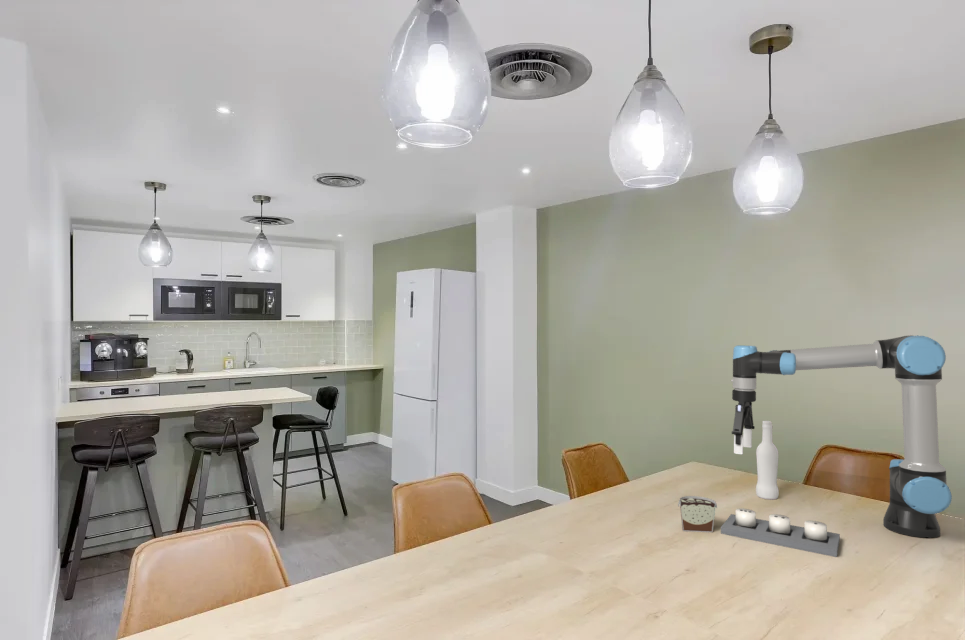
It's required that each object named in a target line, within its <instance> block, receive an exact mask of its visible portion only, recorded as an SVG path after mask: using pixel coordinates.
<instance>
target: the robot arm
mask: <svg viewBox="0 0 965 640" xmlns="http://www.w3.org/2000/svg"><path fill="white" fill-rule="evenodd" d="M732 354H733V355H732V378H731V380H730V381H731V383H732V388H733V389H732V392H731V393H732V394H731V396H732V397H731V398H732V401H734V402H737V403H738V404H735V406H734V408H735V410H734V419H733V427H732V431H731V435H733V454H736V455H743V454H744V448H750V449H752V447H753V430H755V426H754V417H753V407H752V406H753V403H754V402H756V400H757V392H756V390H757V374H766V375H770V374H771V375H783V376H787V375H789V376H792V375H795V374H796V371H807V370H808V371H809V370H826V369H827V370H828V369H842V368H843V369H845V368H862V367H877V368H878V369H880V370H881V369H893V370H894V375H895V377H894V378H895V380H896V381H898V382H899V383H900V385H901V402H902V403H901V405H902V407H901V408H902V426H903V427H902V428H903V451H904V453H903V454H904V456H903V457H904V459H903V458H902V459H901V458H900V459H899V458H898V459H897V458H894V459H891V460H890V462H889V463H890V464H889V468H888V469H889V503H888V504H889V505H888V506H887V509H886V511H885V514H884V516H883V520H882V521H883V524H882V525H883V527H884V528H886V529H888V530H889V531H892V532H895V533H898V534H901V535H904V536H909V537H914V536H915V537H914V538H922V537H929V538H928V539H930V538H931V537H935V538H939V537H940V536H941V526H940V524H939V521H938V518H937V516H936V514H940V513H942V512H944V511H945V510H947V509H948V508H949V506H950V505H951V503H952V499H953V498H952V497H953V496H952V493H951V489H950V486H948V483H947V468H946V467H945V466H943V465H942V464H941V462H940V453H939V452H940V451H939V450H940V449H939V446H940V445H939V427H938V403H937V402H938V401H937V400H938V399H937V385H938V383H940V382H941V381H943V372H942V371H943V370H942V368H943V367H944V365H945V363H946V359H947V358H946V357H947V356H946V351H945V349H944V348H943V346H942V345H941V344H940V343H939V342H938V341H936V340H935V339H933V338H931V337H929V336H924V335H904V336H899V337H894V338H888V339H887V338H886V339H879V340H875V341H874V342H873V343H866V344H865V343H864V344H852V345H851V344H850V345H849V344H848V345H838V346H837V345H835V346H825V347H810V348H796V349H782V350H777V349H776V350H774V349H773V350H769V351H758V347H757V346H756V345H746V344H745V345H735V346H734V347H733V352H732ZM938 536H939V537H938ZM931 539H932V538H931Z"/></svg>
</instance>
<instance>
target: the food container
mask: <svg viewBox="0 0 965 640" xmlns="http://www.w3.org/2000/svg"><path fill="white" fill-rule="evenodd" d="M716 502H717V501H715V500H714V499H712V498H708V497H705V496H699V495H698V496H697V495H685V496H681V497H680V498H679V500H678V503H677V506H678V507H680V517H681V526H682V527H681V529H682V532H694V533H695V532H697V533H699V532H700V533H713V531H714V522H715V515H716V509H718V504H717V503H716Z"/></svg>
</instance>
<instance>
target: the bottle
mask: <svg viewBox="0 0 965 640" xmlns="http://www.w3.org/2000/svg"><path fill="white" fill-rule="evenodd" d="M761 428H762V430H761V431H762V434H761V435H762V437H761V442H759V444H758V446H757V447H756V450H755V454H756V470H757V471H756V472H757V482H756V485H755V495H756V497H758V498H760V499H762V500H763V499H764V500H770V501H771V500H778V498H779V492H780V491H779V487H778V471H779V470H778V469H779V468H778V467H779V457H780V456H779V450H778V448H777V446H776V445H775V444H774V442H773V422H772V421H771V420H762V425H761Z"/></svg>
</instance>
